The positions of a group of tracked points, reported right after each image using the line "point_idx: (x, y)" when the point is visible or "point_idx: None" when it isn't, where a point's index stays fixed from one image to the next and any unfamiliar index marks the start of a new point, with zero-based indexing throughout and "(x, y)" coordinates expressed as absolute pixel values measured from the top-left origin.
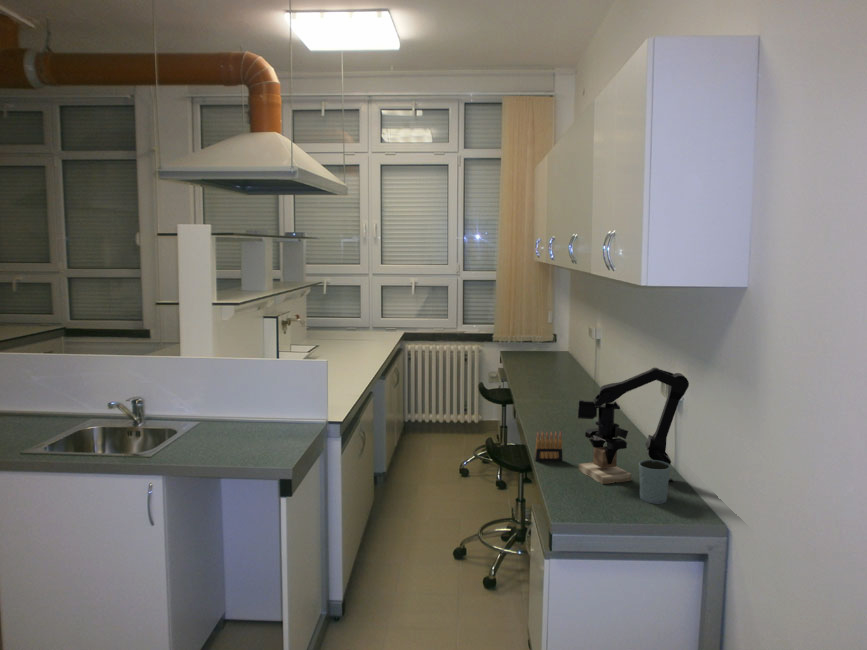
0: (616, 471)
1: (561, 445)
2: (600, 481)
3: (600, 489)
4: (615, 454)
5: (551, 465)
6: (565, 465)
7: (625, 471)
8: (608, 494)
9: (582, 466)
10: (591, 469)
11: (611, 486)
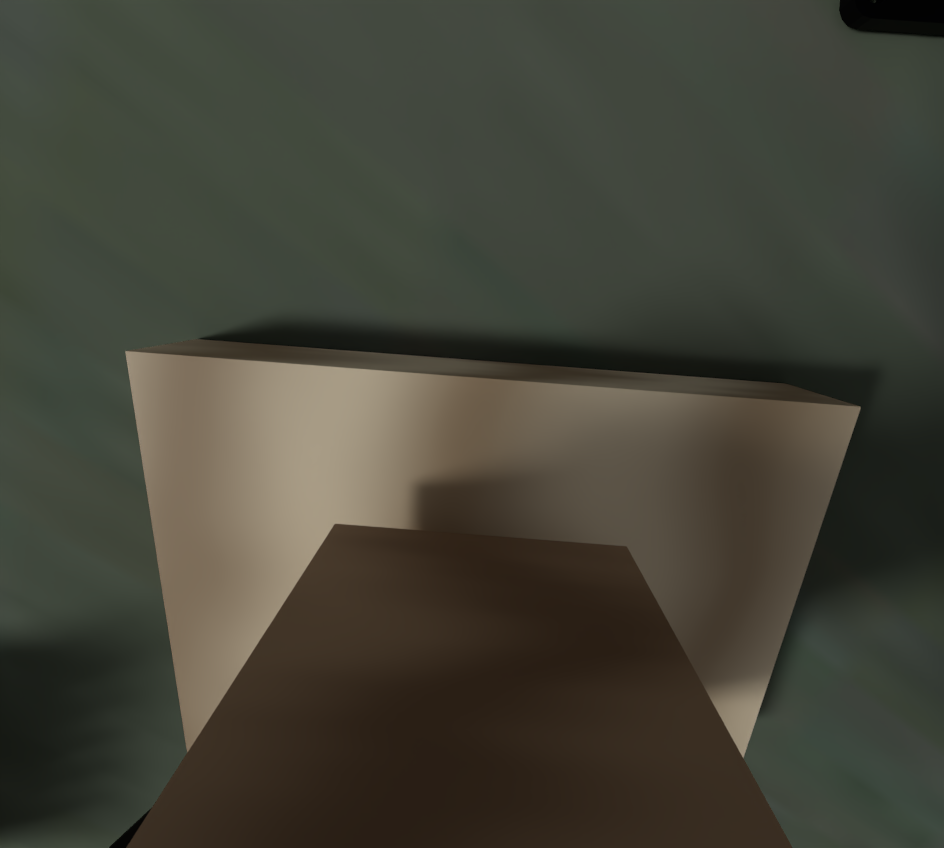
0: (645, 535)
1: None
2: None
3: (788, 804)
4: (743, 821)
5: (38, 802)
6: (53, 704)
7: (720, 414)
8: (924, 817)
9: None
10: None
11: (790, 687)
